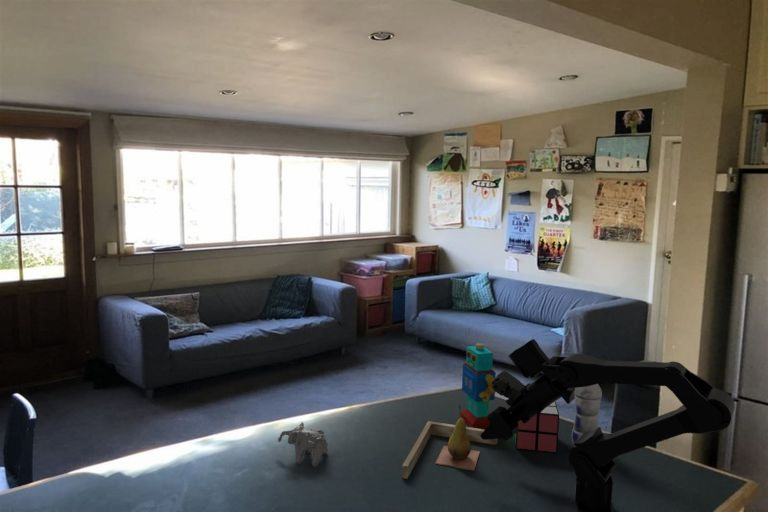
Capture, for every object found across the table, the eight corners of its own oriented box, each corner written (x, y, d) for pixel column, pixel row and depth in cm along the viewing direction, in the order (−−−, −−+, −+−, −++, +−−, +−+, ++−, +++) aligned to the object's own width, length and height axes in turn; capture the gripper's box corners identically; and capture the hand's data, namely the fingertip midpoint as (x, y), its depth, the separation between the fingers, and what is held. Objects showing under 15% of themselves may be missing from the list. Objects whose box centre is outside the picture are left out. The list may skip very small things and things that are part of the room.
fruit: (442, 458, 131) (443, 410, 129) (455, 449, 135) (456, 402, 134) (462, 466, 127) (464, 416, 126) (475, 456, 132) (476, 409, 130)
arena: (497, 442, 140) (498, 431, 139) (484, 493, 117) (484, 480, 116) (427, 431, 145) (428, 421, 145) (402, 478, 122) (402, 465, 122)
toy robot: (457, 415, 156) (459, 329, 152) (476, 413, 157) (479, 328, 154) (475, 433, 145) (479, 341, 141) (496, 430, 146) (499, 339, 143)
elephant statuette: (326, 469, 126) (328, 438, 125) (274, 468, 125) (275, 436, 124) (327, 450, 136) (329, 420, 135) (278, 449, 134) (279, 419, 133)
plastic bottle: (604, 451, 136) (610, 373, 133) (582, 455, 133) (588, 377, 131) (586, 439, 142) (591, 365, 139) (565, 444, 139) (569, 368, 137)
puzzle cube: (557, 453, 135) (559, 414, 133) (515, 449, 137) (517, 411, 135) (553, 435, 144) (555, 399, 143) (514, 431, 146) (515, 395, 145)
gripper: (530, 353, 128) (485, 388, 136) (497, 376, 113) (449, 414, 120) (563, 393, 124) (515, 426, 132) (533, 422, 109) (481, 458, 117)
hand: (490, 429), depth 125 cm, fingers open, 9 cm apart
